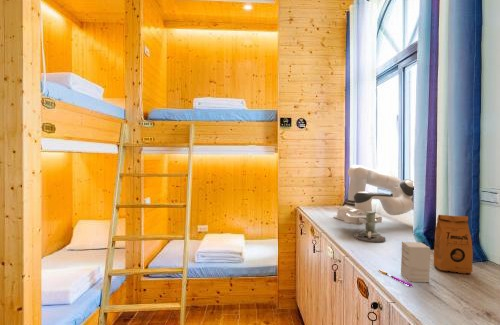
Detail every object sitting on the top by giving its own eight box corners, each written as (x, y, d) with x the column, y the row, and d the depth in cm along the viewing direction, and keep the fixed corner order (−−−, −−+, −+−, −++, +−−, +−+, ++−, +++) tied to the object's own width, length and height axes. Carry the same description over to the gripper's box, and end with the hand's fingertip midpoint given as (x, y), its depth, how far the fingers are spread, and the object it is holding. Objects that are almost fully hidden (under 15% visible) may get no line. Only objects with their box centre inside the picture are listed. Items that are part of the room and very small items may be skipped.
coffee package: (475, 277, 120) (477, 219, 120) (437, 272, 124) (440, 216, 124) (465, 268, 130) (467, 214, 130) (431, 264, 134) (433, 212, 133)
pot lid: (348, 237, 175) (348, 228, 175) (364, 233, 185) (364, 224, 185) (375, 244, 163) (376, 234, 163) (391, 239, 173) (391, 230, 173)
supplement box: (420, 275, 120) (421, 242, 120) (429, 283, 113) (431, 247, 113) (400, 274, 121) (401, 241, 121) (407, 281, 114) (409, 246, 113)
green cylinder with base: (359, 233, 174) (360, 211, 174) (367, 231, 180) (367, 210, 179) (372, 236, 168) (373, 214, 168) (380, 234, 173) (381, 212, 173)
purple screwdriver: (413, 287, 109) (379, 271, 124) (412, 283, 109) (378, 268, 124) (407, 289, 108) (373, 273, 123) (407, 286, 108) (373, 270, 123)
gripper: (373, 221, 189) (388, 227, 175) (341, 222, 185) (353, 227, 171) (374, 211, 188) (388, 215, 175) (342, 211, 184) (354, 216, 171)
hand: (371, 221), depth 173 cm, fingers closed on green cylinder with base, 4 cm apart
